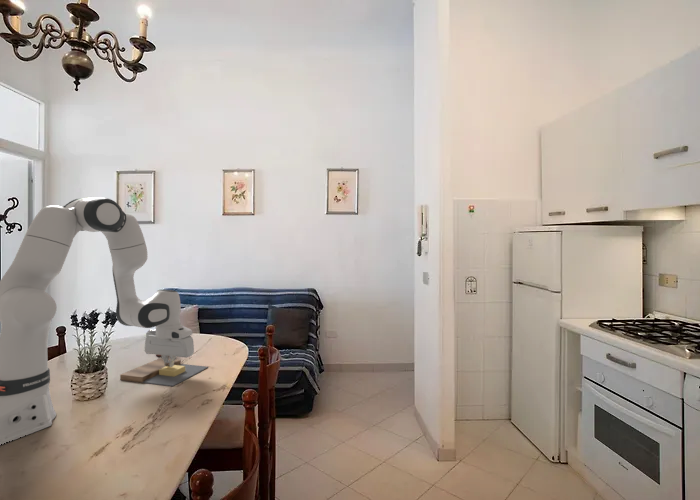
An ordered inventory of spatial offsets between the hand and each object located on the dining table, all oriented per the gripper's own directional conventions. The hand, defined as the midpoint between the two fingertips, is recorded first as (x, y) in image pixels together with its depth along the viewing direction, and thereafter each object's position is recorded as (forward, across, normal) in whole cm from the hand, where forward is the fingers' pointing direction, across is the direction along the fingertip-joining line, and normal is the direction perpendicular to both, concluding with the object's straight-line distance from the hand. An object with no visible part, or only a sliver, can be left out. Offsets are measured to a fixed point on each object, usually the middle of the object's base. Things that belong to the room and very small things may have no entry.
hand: (169, 366), depth 146 cm
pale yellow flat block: (+2, +1, 0) cm, 3 cm away
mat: (+3, +4, 0) cm, 5 cm away
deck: (+3, -8, 0) cm, 9 cm away
